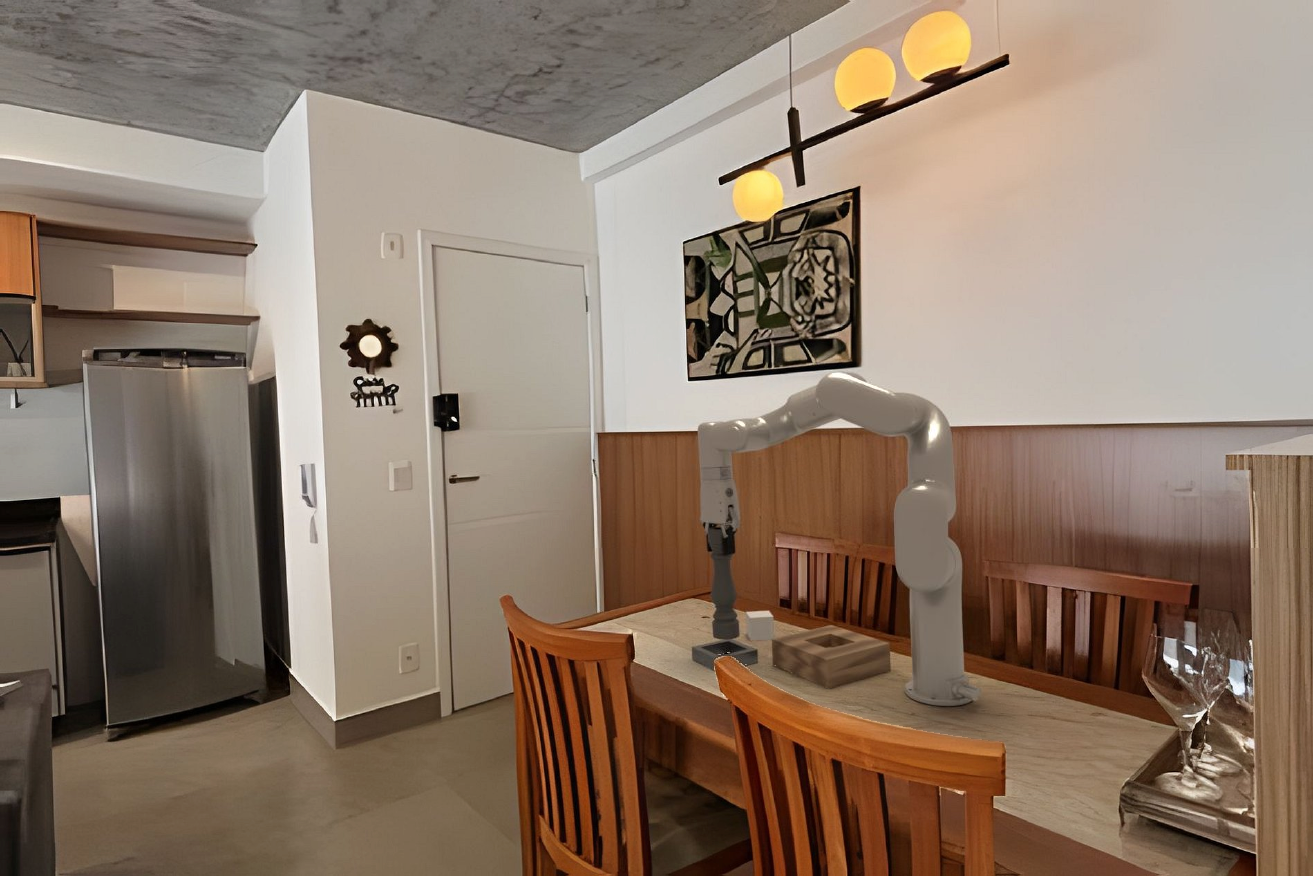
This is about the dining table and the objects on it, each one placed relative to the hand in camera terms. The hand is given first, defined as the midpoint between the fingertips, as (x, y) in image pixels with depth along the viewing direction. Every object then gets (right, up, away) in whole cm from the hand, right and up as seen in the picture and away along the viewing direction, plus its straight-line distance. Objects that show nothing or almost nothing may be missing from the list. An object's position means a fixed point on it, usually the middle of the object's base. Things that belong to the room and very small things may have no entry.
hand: (721, 551), depth 166 cm
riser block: (+24, -25, -7) cm, 35 cm away
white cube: (+12, -25, +18) cm, 33 cm away
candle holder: (+1, -20, 0) cm, 20 cm away
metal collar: (+1, -26, +1) cm, 26 cm away
